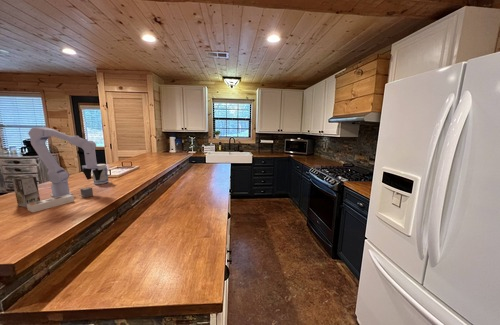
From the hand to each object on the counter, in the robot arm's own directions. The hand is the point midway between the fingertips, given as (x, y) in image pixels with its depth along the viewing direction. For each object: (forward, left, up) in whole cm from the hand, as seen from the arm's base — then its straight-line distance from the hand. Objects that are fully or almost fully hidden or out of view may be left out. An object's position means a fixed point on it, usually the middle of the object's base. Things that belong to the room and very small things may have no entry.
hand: (93, 179), depth 135 cm
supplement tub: (-23, +16, -10) cm, 30 cm away
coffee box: (-11, -28, -10) cm, 32 cm away
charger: (+2, -7, -9) cm, 12 cm away
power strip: (+2, -23, -9) cm, 25 cm away
